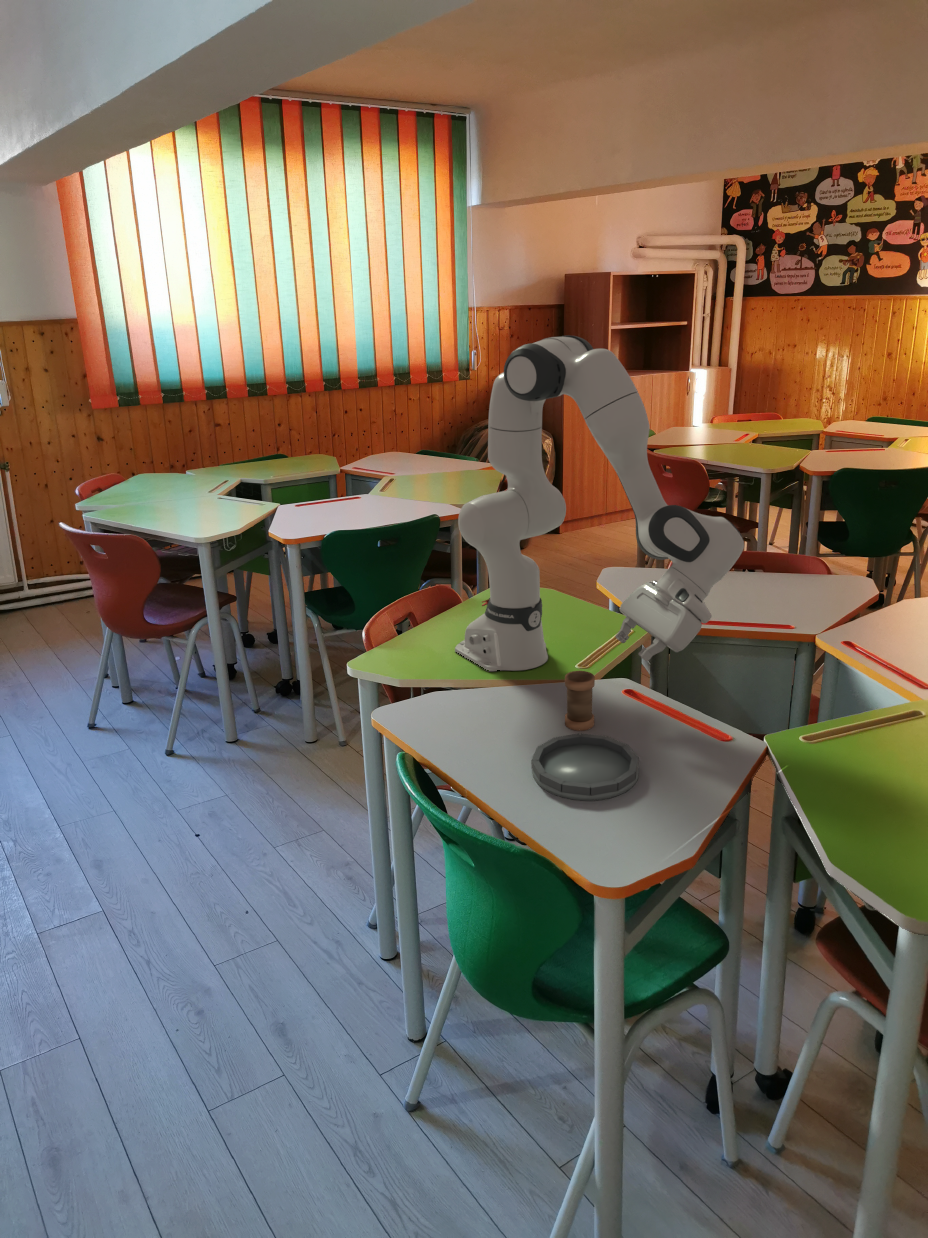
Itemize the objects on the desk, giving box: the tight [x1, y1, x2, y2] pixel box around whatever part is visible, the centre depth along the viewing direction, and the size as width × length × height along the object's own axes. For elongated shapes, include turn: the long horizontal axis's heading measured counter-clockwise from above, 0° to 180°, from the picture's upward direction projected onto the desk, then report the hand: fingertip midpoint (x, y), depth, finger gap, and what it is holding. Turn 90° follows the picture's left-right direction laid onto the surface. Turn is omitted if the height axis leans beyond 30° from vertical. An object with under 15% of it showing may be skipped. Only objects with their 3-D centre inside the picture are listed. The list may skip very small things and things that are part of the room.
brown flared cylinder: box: [564, 670, 596, 732], centre depth 169 cm, size 6×6×10 cm
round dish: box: [531, 732, 640, 802], centre depth 154 cm, size 18×18×2 cm
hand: (630, 649), depth 169 cm, fingers open, 8 cm apart
